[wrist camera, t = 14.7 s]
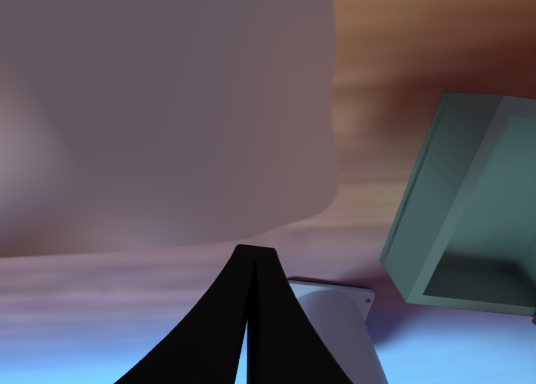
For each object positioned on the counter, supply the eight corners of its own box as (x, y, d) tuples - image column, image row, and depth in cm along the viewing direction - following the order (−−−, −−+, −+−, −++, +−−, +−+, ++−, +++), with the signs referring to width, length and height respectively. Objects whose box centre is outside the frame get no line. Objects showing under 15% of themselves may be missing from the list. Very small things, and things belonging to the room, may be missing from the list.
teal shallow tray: (506, 274, 21) (562, 319, 17) (379, 259, 21) (405, 302, 17) (608, 115, 16) (722, 127, 12) (443, 91, 16) (504, 94, 12)
